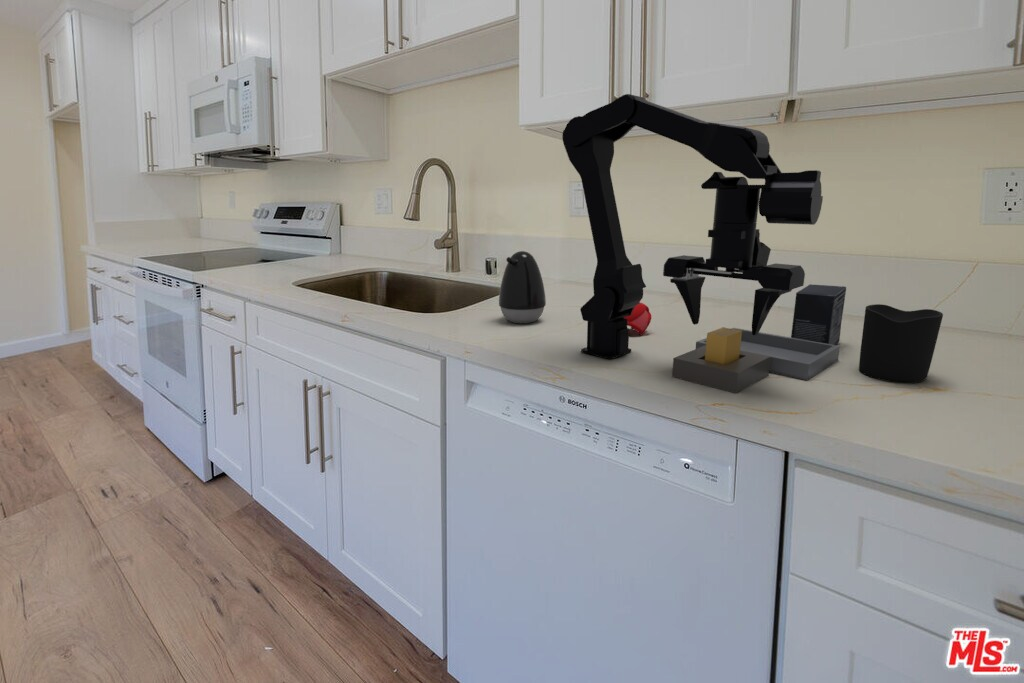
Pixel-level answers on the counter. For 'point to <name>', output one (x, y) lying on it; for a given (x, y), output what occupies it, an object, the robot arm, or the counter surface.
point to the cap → (639, 318)
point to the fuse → (723, 345)
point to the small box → (819, 313)
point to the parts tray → (788, 353)
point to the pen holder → (898, 343)
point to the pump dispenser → (522, 289)
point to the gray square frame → (721, 370)
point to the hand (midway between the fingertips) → (724, 329)
